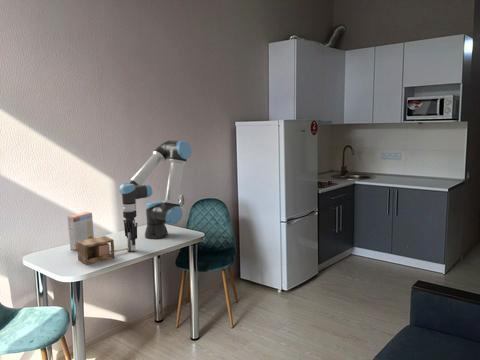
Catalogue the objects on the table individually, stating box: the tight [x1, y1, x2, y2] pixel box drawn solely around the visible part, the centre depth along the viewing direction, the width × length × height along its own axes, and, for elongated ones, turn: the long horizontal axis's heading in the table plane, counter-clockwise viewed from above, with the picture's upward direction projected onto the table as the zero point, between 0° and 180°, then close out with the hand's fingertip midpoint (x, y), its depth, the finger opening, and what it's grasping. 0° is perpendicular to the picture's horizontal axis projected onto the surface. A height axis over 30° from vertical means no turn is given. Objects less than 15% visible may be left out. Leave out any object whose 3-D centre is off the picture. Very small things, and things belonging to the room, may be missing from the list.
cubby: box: [77, 235, 115, 266], centre depth 235 cm, size 16×11×11 cm
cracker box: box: [67, 211, 95, 252], centre depth 258 cm, size 14×6×21 cm, turn 149°
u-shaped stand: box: [95, 232, 135, 258], centre depth 243 cm, size 22×6×11 cm, turn 131°
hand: (131, 249), depth 250 cm, fingers closed on u-shaped stand, 3 cm apart
